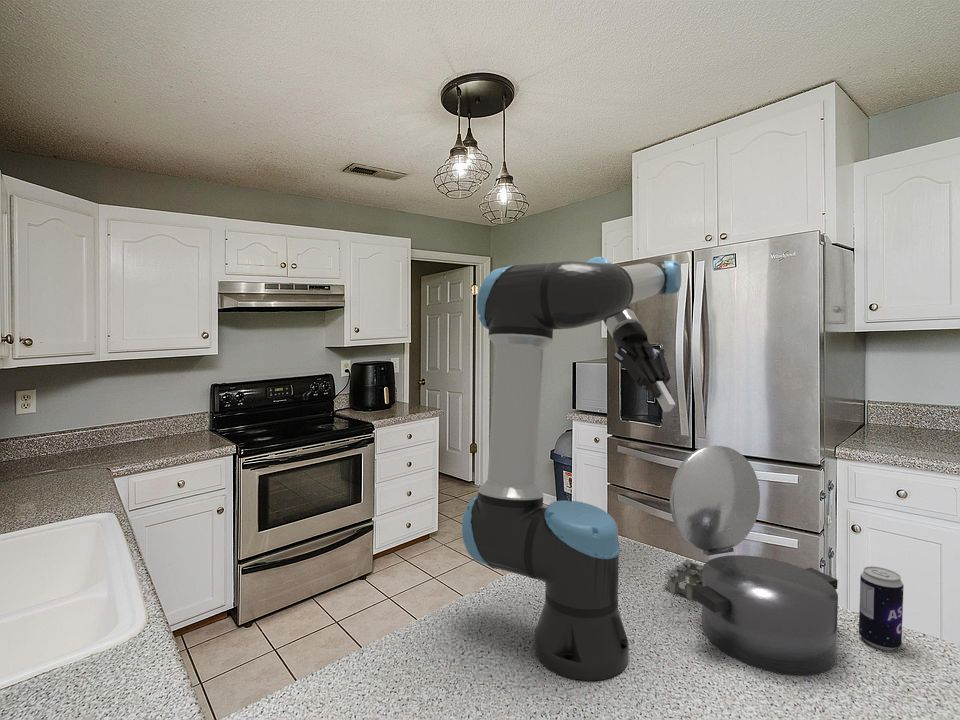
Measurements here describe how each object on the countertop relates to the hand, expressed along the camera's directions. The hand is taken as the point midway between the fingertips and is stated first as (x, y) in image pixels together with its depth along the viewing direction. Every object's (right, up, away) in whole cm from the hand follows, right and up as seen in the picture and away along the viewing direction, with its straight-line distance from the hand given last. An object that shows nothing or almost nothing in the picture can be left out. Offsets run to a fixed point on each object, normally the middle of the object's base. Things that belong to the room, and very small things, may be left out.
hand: (669, 408), depth 112 cm
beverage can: (+26, -37, -25) cm, 52 cm away
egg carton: (+2, -37, -5) cm, 37 cm away
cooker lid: (+4, -16, -13) cm, 21 cm away
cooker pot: (+8, -37, -23) cm, 44 cm away
